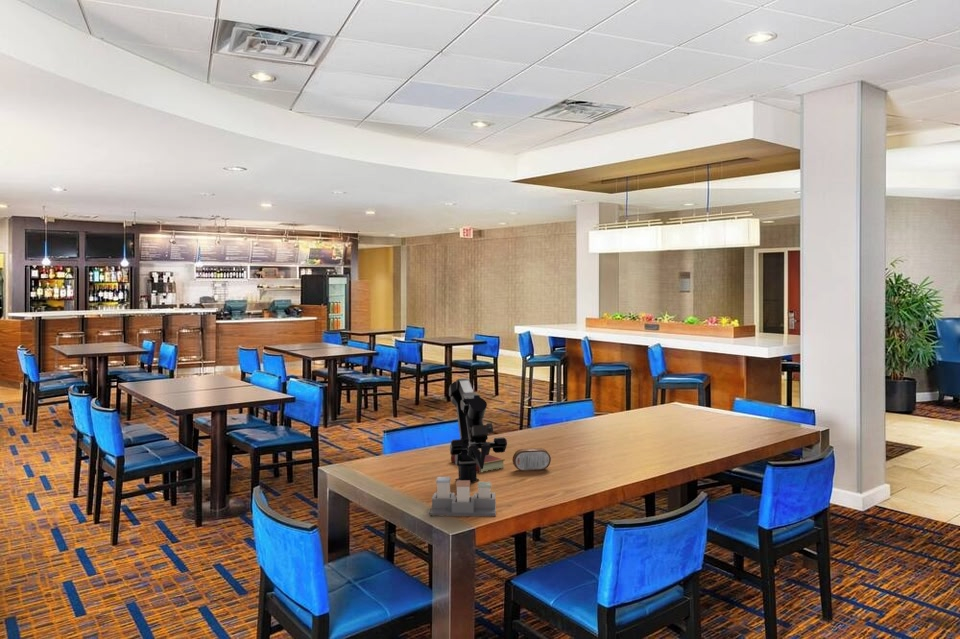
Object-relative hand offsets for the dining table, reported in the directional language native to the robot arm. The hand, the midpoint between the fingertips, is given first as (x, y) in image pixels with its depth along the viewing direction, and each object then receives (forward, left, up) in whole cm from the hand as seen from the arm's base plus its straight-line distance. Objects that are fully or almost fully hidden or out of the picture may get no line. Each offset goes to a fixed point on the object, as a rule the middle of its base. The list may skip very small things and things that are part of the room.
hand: (481, 468), depth 215 cm
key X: (+2, -10, -9) cm, 13 cm away
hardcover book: (-37, +34, -12) cm, 52 cm away
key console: (0, -8, -12) cm, 14 cm away
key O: (+4, -2, -11) cm, 11 cm away
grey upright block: (-6, -11, -9) cm, 16 cm away
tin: (-16, +43, -12) cm, 48 cm away
